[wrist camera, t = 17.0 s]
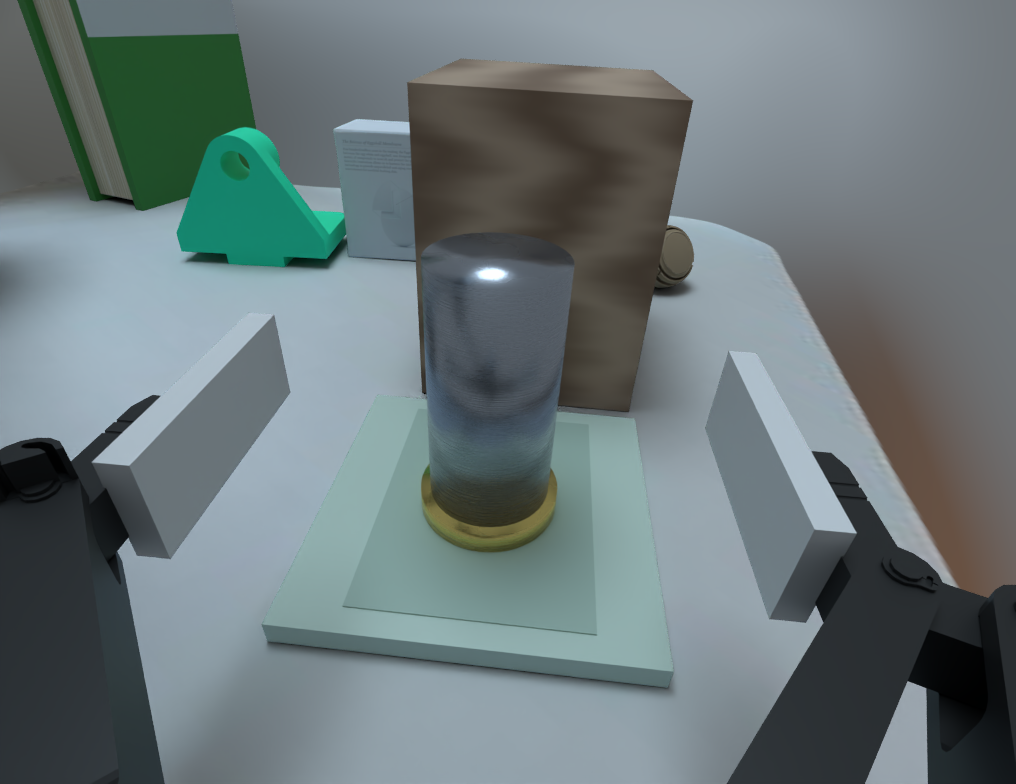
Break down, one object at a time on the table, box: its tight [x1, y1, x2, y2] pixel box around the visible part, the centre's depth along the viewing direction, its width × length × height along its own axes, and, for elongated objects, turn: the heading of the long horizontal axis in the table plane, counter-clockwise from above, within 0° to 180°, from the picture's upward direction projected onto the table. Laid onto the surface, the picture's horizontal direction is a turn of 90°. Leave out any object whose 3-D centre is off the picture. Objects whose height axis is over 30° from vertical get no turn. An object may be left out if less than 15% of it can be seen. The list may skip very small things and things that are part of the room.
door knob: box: [655, 225, 694, 288], centre depth 46 cm, size 5×5×5 cm
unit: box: [407, 59, 693, 412], centre depth 34 cm, size 12×14×16 cm
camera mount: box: [177, 127, 346, 267], centre depth 48 cm, size 12×8×10 cm, turn 89°
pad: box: [262, 395, 674, 688], centre depth 25 cm, size 14×14×1 cm
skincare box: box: [333, 119, 416, 261], centre depth 49 cm, size 10×6×10 cm, turn 86°
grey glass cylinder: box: [421, 232, 575, 552], centre depth 22 cm, size 6×6×11 cm
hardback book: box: [18, 0, 256, 211], centre depth 59 cm, size 18×7×24 cm, turn 158°
